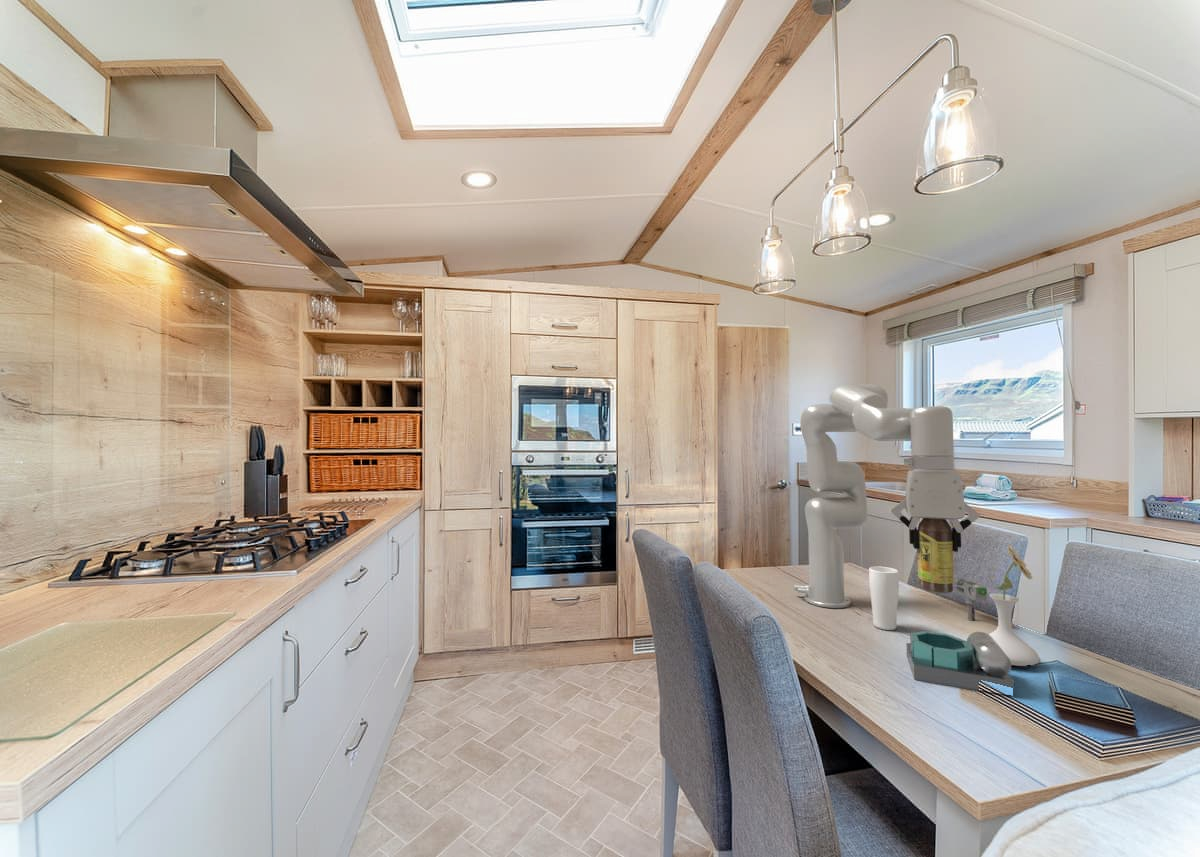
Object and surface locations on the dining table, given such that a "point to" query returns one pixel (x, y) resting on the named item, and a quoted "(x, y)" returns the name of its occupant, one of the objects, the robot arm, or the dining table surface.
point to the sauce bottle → (935, 555)
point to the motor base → (954, 675)
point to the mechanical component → (971, 594)
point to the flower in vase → (1004, 634)
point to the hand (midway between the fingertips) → (934, 548)
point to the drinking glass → (884, 596)
